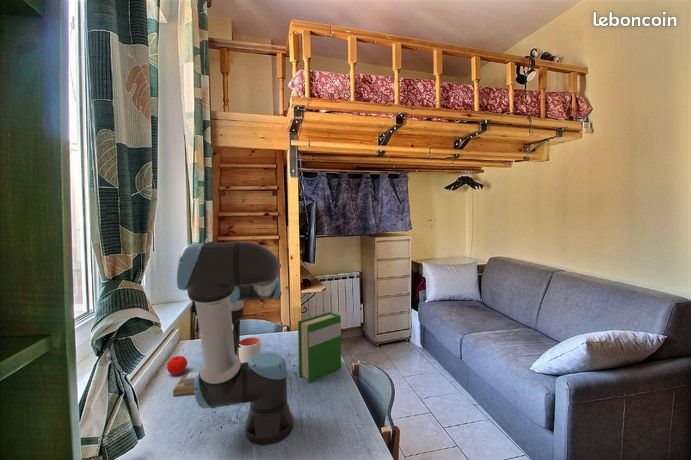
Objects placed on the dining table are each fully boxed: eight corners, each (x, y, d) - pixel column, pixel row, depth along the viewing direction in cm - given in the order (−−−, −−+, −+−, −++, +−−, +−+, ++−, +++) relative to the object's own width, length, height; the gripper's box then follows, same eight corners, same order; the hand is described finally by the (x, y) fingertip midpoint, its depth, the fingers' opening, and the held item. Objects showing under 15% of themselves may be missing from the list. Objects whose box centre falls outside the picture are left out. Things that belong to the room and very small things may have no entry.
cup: (264, 357, 151) (263, 337, 150) (256, 368, 141) (255, 346, 140) (244, 357, 152) (243, 337, 151) (235, 367, 142) (234, 345, 141)
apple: (181, 367, 142) (180, 351, 142) (191, 371, 138) (191, 355, 138) (163, 375, 135) (162, 358, 135) (173, 380, 131) (173, 362, 131)
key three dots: (199, 387, 123) (198, 377, 123) (185, 388, 123) (185, 378, 122) (203, 380, 128) (202, 370, 128) (190, 381, 128) (189, 371, 127)
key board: (249, 389, 123) (248, 383, 123) (173, 396, 119) (173, 390, 119) (253, 375, 134) (252, 369, 134) (183, 381, 130) (183, 375, 130)
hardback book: (309, 383, 127) (308, 325, 126) (299, 376, 133) (298, 321, 132) (341, 368, 140) (340, 315, 138) (330, 362, 145) (329, 311, 144)
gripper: (240, 312, 120) (242, 372, 122) (245, 303, 133) (247, 356, 135) (220, 314, 119) (222, 373, 121) (227, 304, 132) (229, 358, 134)
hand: (235, 364), depth 128 cm, fingers closed
